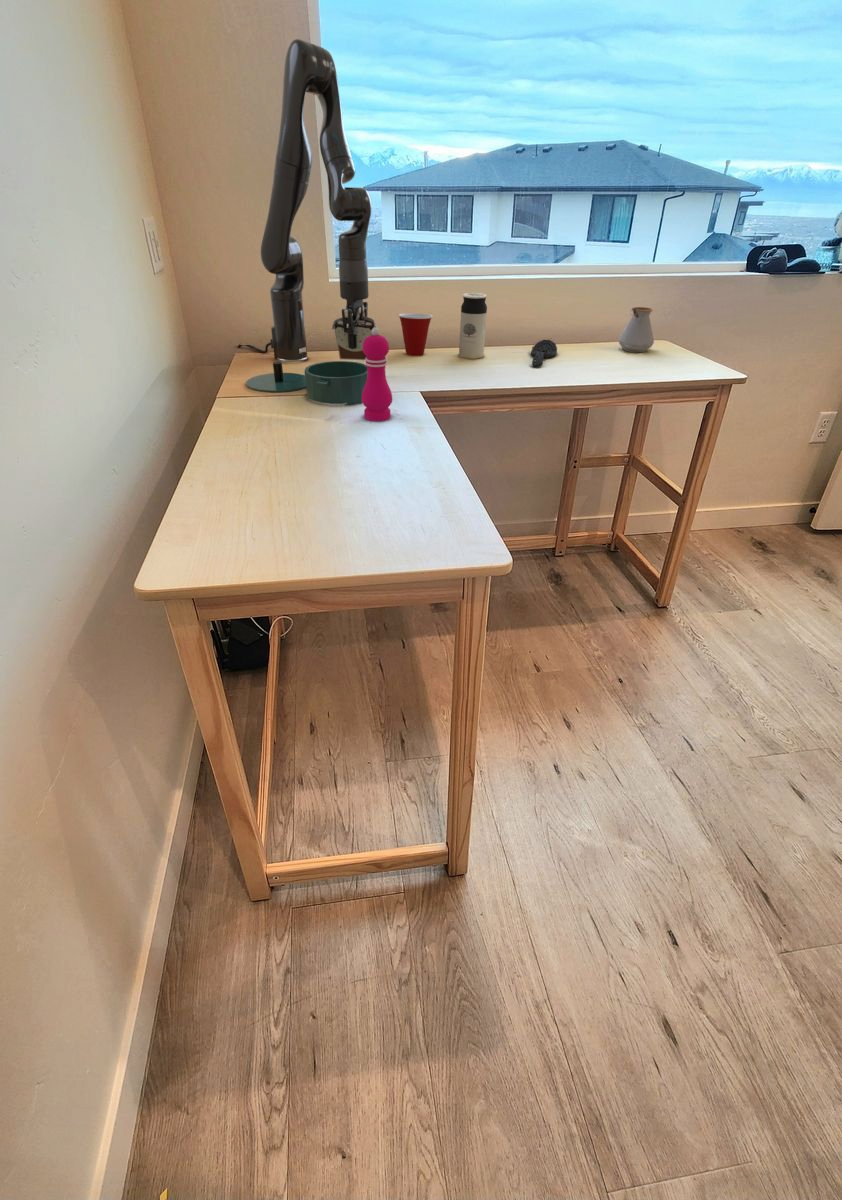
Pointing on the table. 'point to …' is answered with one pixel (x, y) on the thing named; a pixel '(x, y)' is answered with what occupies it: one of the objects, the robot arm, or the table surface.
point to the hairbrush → (543, 351)
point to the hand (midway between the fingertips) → (356, 345)
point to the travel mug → (473, 326)
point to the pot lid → (277, 381)
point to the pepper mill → (376, 378)
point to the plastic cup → (415, 332)
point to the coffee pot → (638, 331)
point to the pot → (336, 382)
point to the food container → (361, 335)
